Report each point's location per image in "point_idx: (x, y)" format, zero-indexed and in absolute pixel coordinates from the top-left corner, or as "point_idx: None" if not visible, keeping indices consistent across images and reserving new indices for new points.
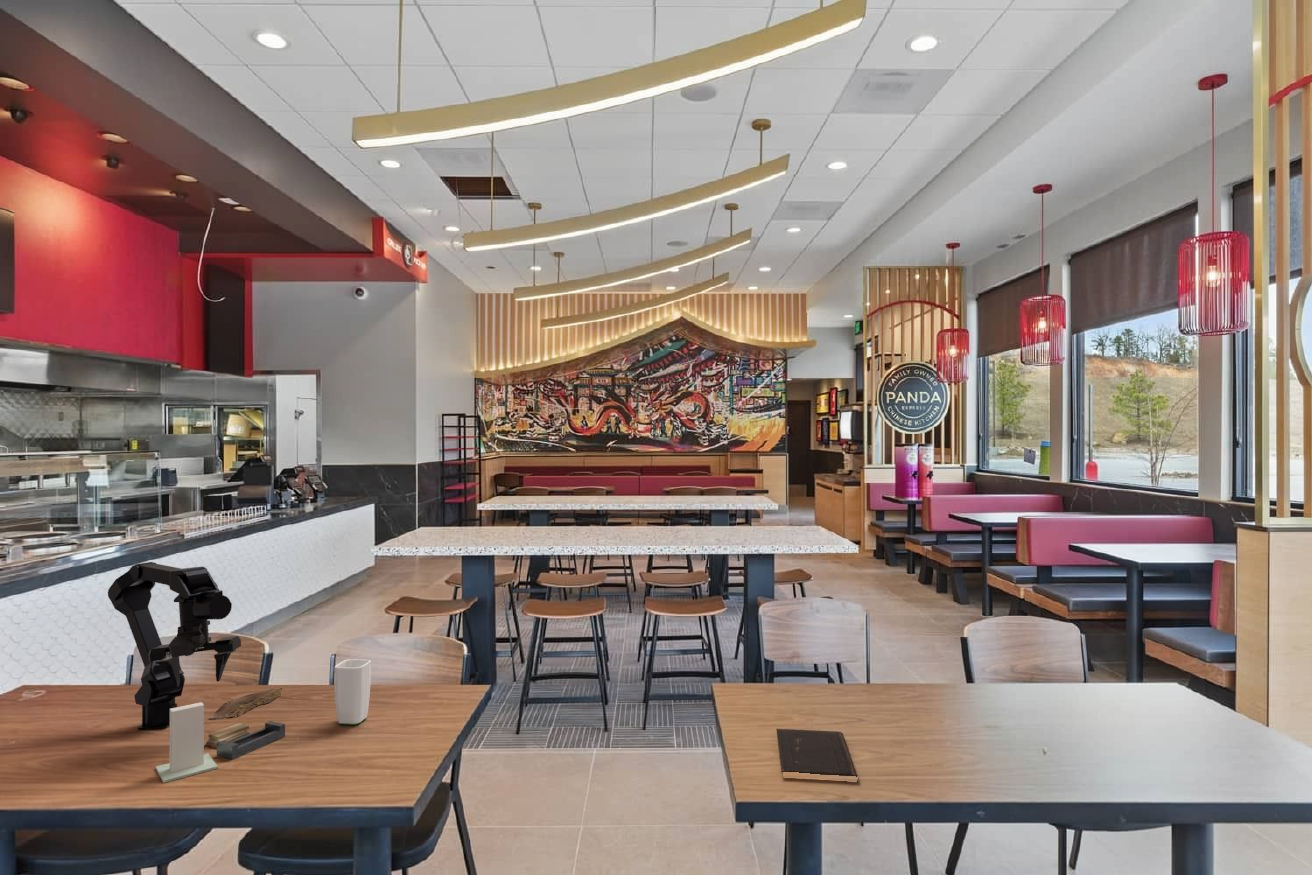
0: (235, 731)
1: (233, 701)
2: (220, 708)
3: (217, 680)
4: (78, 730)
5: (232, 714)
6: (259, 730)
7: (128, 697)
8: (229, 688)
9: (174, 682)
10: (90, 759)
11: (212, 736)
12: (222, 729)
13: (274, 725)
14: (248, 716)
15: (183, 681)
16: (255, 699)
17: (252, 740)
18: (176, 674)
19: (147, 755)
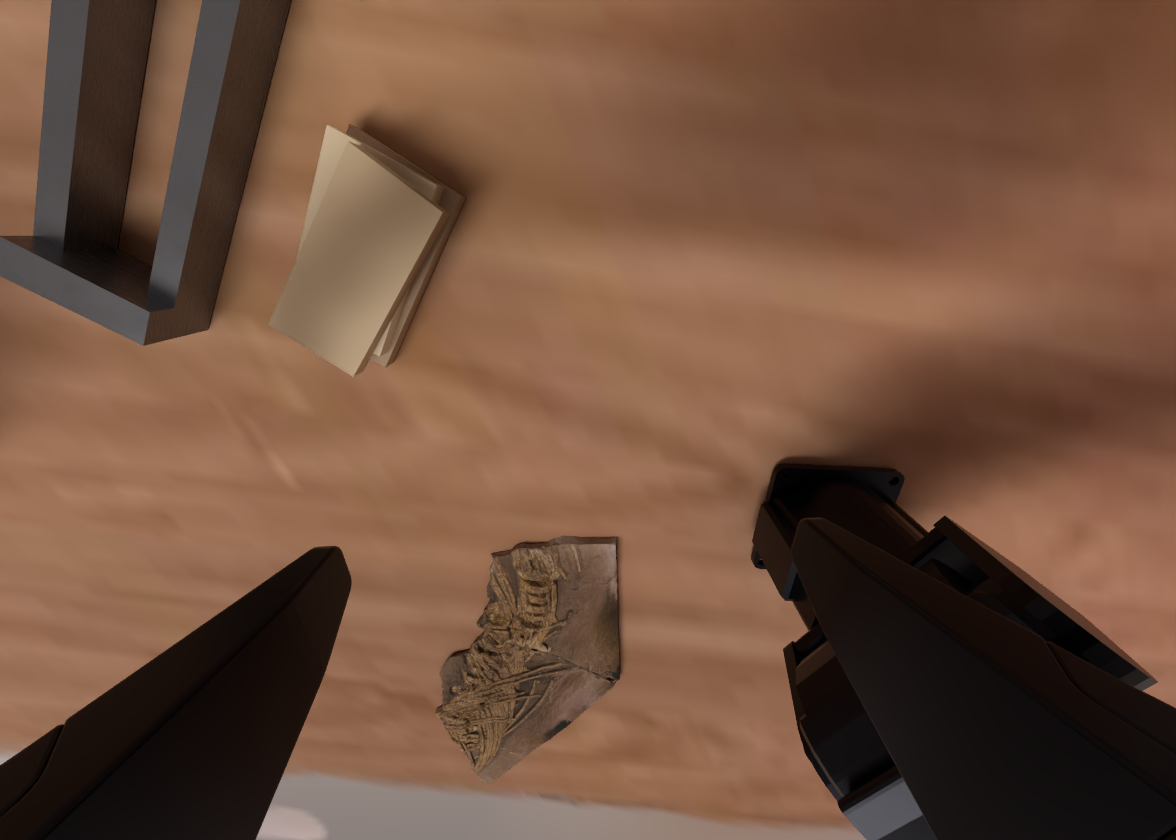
0: (304, 251)
1: (590, 685)
2: (612, 632)
3: (315, 550)
4: (1157, 501)
5: (524, 564)
6: (169, 256)
7: None
8: (665, 788)
9: (864, 546)
10: (1074, 63)
11: (405, 181)
12: (396, 284)
13: (60, 265)
14: (453, 549)
15: (803, 720)
16: (513, 693)
17: (78, 58)
18: (914, 669)
19: (748, 76)
